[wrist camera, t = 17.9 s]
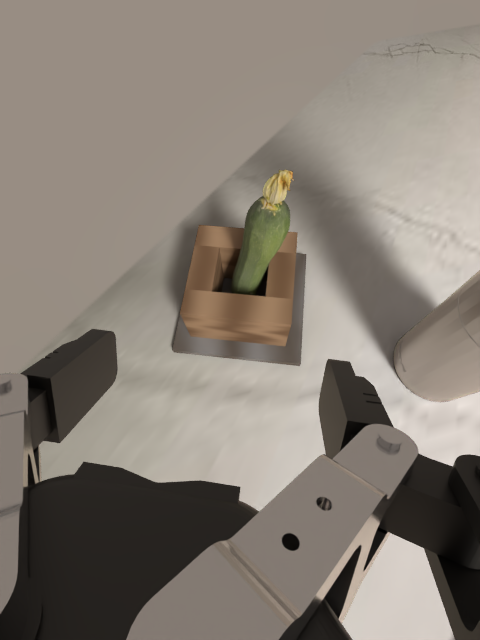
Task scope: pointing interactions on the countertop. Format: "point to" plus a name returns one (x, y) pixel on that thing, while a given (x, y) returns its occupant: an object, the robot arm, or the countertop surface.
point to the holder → (241, 302)
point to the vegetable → (262, 234)
